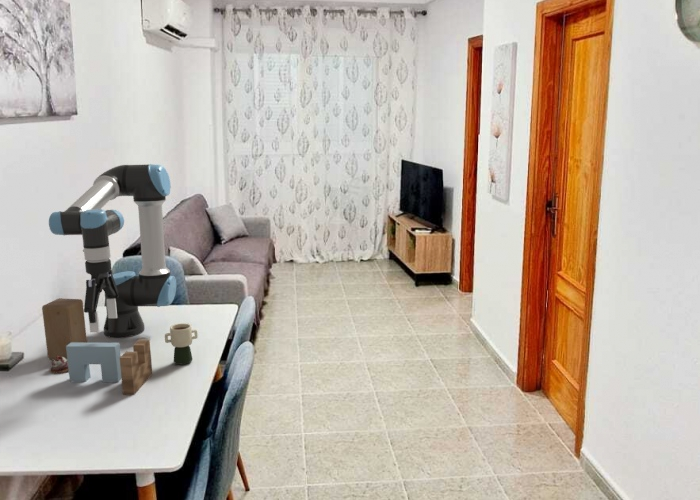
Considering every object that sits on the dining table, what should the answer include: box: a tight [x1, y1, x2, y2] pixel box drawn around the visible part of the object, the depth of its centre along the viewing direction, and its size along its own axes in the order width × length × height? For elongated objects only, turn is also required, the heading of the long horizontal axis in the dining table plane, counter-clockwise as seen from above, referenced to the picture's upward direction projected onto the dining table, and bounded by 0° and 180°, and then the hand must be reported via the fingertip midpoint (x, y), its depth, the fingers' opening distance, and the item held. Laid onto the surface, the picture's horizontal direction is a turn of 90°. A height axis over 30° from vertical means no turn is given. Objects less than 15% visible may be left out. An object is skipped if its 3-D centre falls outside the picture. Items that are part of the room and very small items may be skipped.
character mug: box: [164, 323, 199, 365], centre depth 230 cm, size 11×7×13 cm, turn 112°
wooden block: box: [41, 297, 88, 361], centre depth 237 cm, size 10×10×20 cm
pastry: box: [50, 356, 69, 375], centre depth 227 cm, size 8×8×5 cm
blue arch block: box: [66, 342, 122, 383], centre depth 217 cm, size 16×4×12 cm, turn 86°
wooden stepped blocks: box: [120, 338, 153, 396], centre depth 213 cm, size 16×4×12 cm, turn 176°
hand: (104, 324), depth 214 cm, fingers open, 13 cm apart
